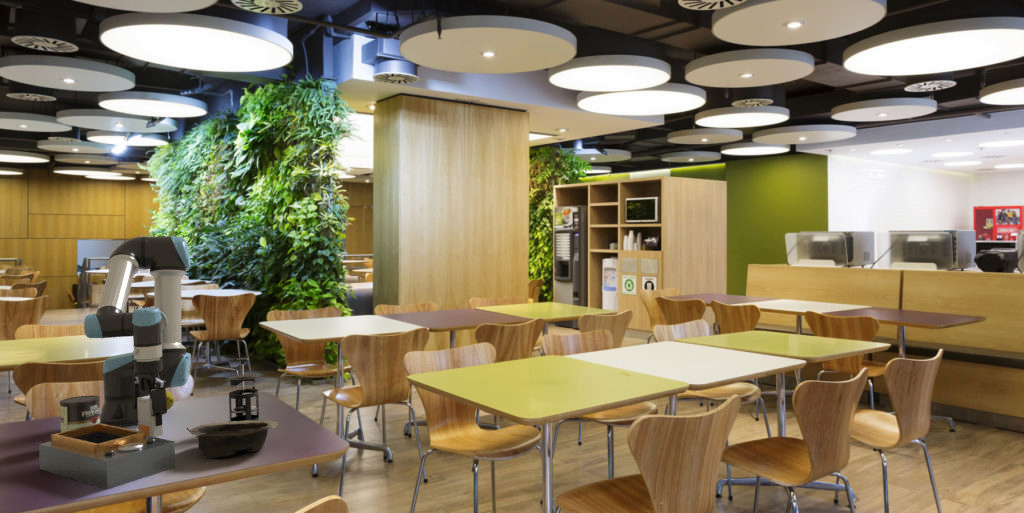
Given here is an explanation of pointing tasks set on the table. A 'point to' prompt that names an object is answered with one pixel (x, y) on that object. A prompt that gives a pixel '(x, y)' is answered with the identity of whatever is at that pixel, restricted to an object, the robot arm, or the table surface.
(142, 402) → the skincare box
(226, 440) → the stone bowl
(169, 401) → the lemon
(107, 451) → the grey open box
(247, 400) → the french press
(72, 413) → the coffee can
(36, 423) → the table surface
